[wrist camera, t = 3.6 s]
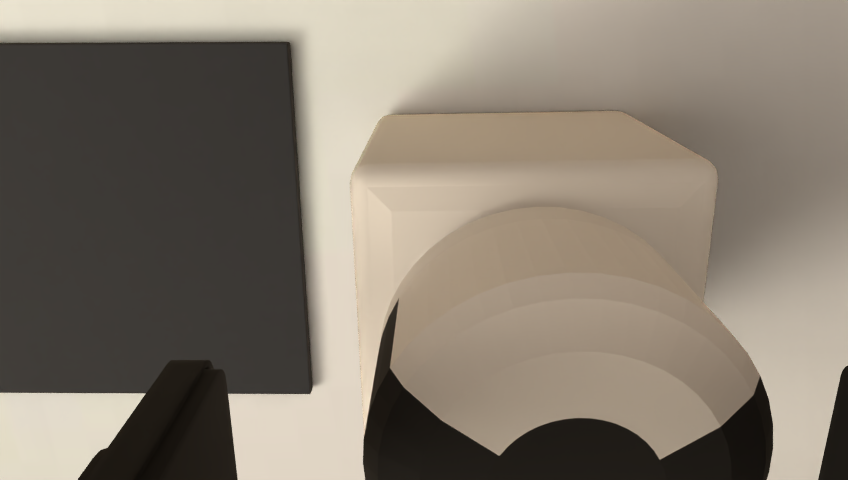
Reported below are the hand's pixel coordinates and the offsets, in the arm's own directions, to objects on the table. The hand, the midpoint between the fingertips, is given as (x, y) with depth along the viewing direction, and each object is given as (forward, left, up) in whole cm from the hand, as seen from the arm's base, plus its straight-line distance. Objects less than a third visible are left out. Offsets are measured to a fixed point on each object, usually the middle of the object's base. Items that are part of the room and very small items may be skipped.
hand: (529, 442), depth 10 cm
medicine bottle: (-1, 0, -11) cm, 11 cm away
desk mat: (+16, 0, -11) cm, 19 cm away
